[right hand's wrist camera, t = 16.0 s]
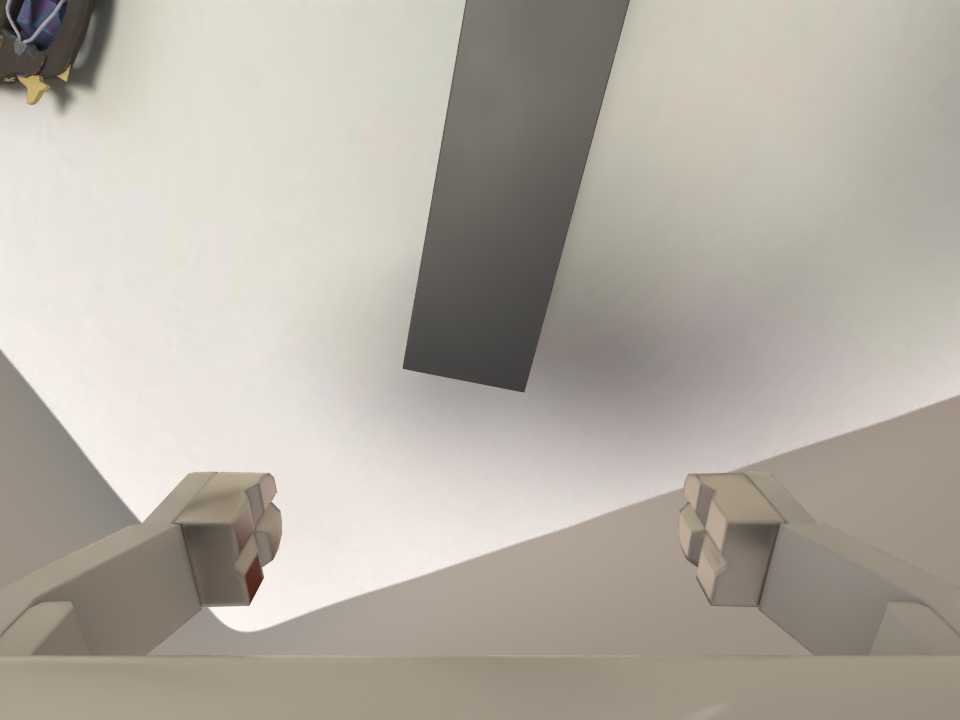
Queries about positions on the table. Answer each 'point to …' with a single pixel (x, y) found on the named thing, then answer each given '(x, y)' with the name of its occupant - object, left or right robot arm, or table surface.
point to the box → (508, 182)
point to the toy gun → (40, 41)
